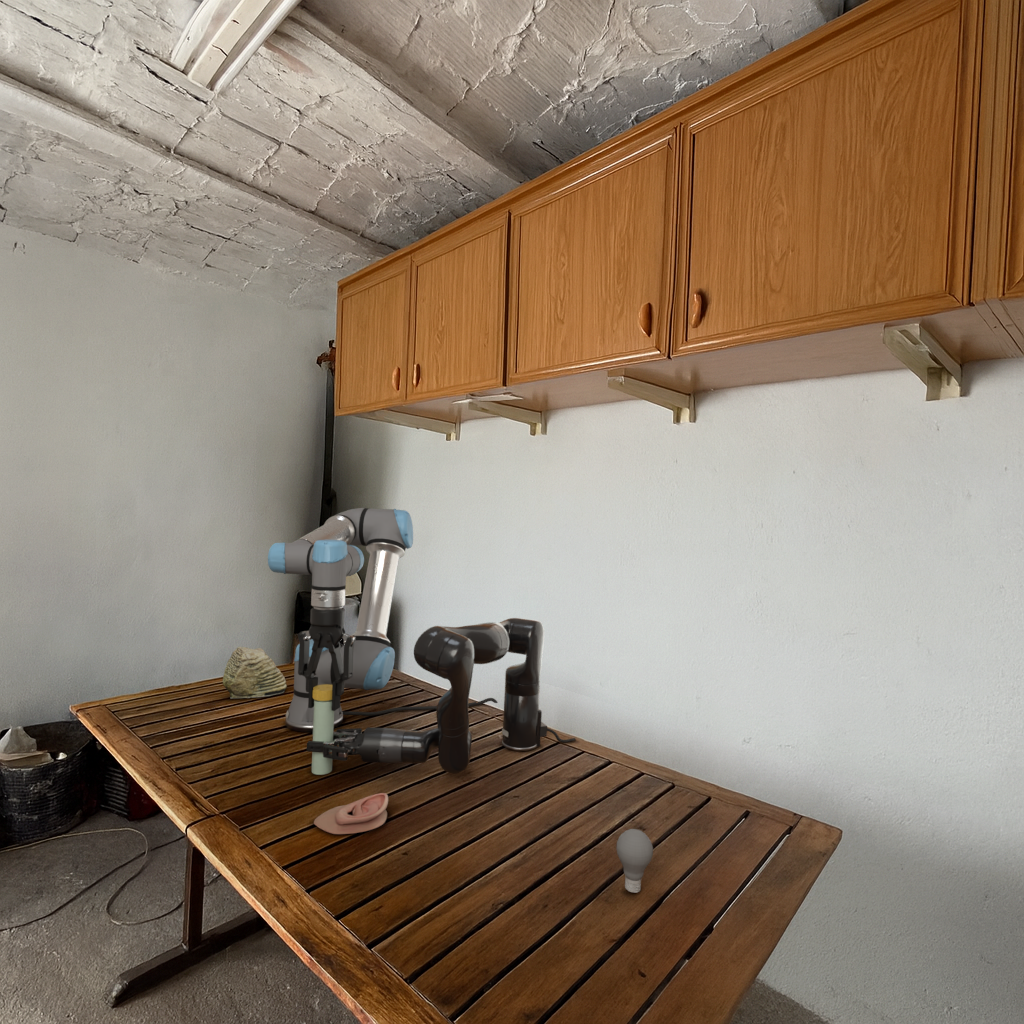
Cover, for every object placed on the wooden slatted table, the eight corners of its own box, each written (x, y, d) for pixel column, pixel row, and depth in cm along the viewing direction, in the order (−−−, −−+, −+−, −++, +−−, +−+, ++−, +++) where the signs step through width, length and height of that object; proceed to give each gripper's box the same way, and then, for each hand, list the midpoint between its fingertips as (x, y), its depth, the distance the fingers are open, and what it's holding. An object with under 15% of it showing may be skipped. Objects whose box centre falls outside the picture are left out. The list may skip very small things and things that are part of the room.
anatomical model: (306, 809, 120) (334, 783, 131) (305, 829, 120) (334, 802, 131) (371, 819, 117) (395, 791, 129) (370, 840, 117) (394, 811, 129)
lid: (309, 700, 143) (310, 690, 143) (315, 693, 149) (316, 683, 148) (333, 701, 144) (333, 691, 144) (338, 694, 149) (339, 684, 149)
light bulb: (610, 879, 108) (613, 822, 108) (644, 879, 109) (647, 822, 109) (619, 902, 102) (622, 840, 102) (655, 901, 103) (658, 840, 103)
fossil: (218, 695, 195) (220, 647, 195) (278, 685, 208) (279, 640, 207) (228, 703, 189) (230, 653, 188) (289, 692, 201) (290, 645, 201)
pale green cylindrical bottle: (310, 767, 148) (313, 688, 147) (330, 765, 149) (333, 687, 149) (312, 775, 143) (315, 694, 143) (332, 773, 145) (336, 692, 145)
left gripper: (283, 606, 144) (279, 708, 144) (357, 612, 140) (353, 717, 141) (300, 601, 151) (296, 698, 152) (371, 607, 148) (367, 706, 148)
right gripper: (391, 718, 153) (321, 715, 153) (378, 741, 139) (300, 737, 139) (390, 749, 153) (320, 745, 153) (376, 774, 139) (299, 771, 139)
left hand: (324, 707), depth 146 cm, fingers closed on lid, 5 cm apart
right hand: (311, 741), depth 146 cm, fingers closed on pale green cylindrical bottle, 4 cm apart
